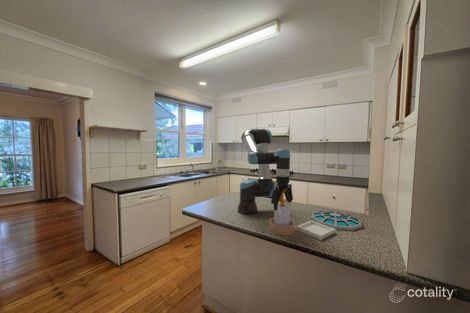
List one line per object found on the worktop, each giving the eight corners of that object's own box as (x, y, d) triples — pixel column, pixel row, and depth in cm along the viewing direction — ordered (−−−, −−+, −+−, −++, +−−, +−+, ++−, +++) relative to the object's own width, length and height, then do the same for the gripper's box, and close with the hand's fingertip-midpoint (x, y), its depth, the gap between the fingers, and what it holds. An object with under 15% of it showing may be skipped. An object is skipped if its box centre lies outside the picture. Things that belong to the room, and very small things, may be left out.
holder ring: (264, 228, 114) (264, 220, 114) (280, 223, 122) (280, 215, 122) (283, 237, 103) (283, 228, 102) (299, 231, 111) (299, 222, 111)
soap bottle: (292, 229, 112) (293, 188, 111) (284, 234, 106) (285, 190, 105) (279, 225, 119) (280, 186, 118) (270, 229, 113) (271, 188, 111)
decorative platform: (303, 221, 127) (303, 213, 127) (320, 210, 148) (320, 204, 148) (356, 236, 106) (356, 227, 105) (367, 222, 126) (367, 214, 126)
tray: (296, 230, 112) (296, 226, 112) (311, 224, 120) (311, 220, 120) (320, 240, 100) (320, 235, 99) (335, 233, 108) (335, 229, 108)
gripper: (274, 178, 102) (274, 219, 103) (299, 175, 114) (299, 212, 115) (264, 176, 108) (264, 215, 109) (289, 173, 120) (289, 208, 121)
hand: (282, 213), depth 112 cm, fingers closed on soap bottle, 9 cm apart
